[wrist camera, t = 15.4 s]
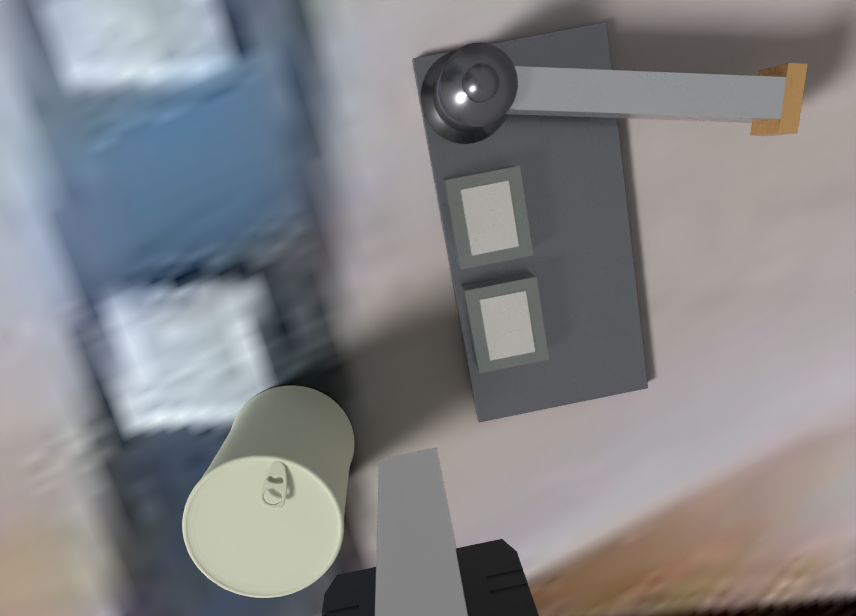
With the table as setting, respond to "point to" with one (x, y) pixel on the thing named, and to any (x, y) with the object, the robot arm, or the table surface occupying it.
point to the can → (273, 495)
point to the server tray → (538, 241)
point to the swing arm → (613, 93)
